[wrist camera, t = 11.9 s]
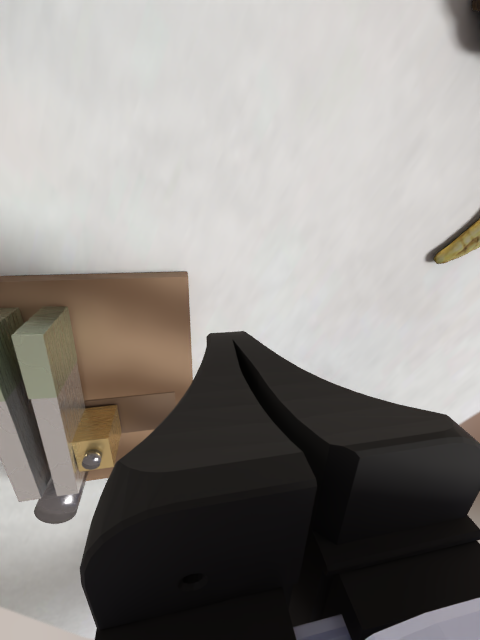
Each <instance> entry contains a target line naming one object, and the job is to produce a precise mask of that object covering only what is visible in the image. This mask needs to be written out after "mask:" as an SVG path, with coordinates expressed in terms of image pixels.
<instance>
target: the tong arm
mask: <svg viewBox="0 0 480 640" xmlns="http://www.w3.org/2000/svg"><path fill="white" fill-rule="evenodd" d="M11 337H12V341H13V345H14V348H15V352H16V355H17V359H18V363H19V366H20V370H21V374H22V377H23V381H24V385H25V388H26V392H27V396H28V399H31V402H32V405H33V409H34V413H35V416H36V420H37V424H38V427H39V431H40V435H41V439H42V442H43V446H44V450H45V453H46V457H47V461H48V464H49V468H50V472H51V476H52V479H53V483H54V487H55V490H56V494H57V496H63V495H71V494H78V493H79V491H80V487H81V484H82V481H83V478H84V475H85V471H81V472H79V468H78V465H77V461H76V458H75V454H74V450H73V447H72V440H73V438H74V435H75V433H76V430H77V428H78V425H79V423H80V420H81V418H82V415H83V413H84V410H85V404H84V398H83V393H82V387H81V382H80V376H79V371H78V365H77V355H76V349H75V344H74V338H73V332H72V327H71V321H70V316H69V310H68V306H67V307H42V308H41V309H40V310H38V311H37V312H36V313H35V314H34V315H33V316H32V317H31V318H30V319H29V320H28V321H27V322H25V323H24V324H23V325H22V326H21V327H20V328H19V329H18V330H17V331H16V332H15V333H14V334H12V335H11Z"/></svg>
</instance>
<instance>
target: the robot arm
mask: <svg viewBox="0 0 480 640" xmlns="http://www.w3.org/2000/svg"><path fill="white" fill-rule="evenodd" d="M479 491H480V443H479V442H478V441H476V440H475V439H474V438H473V437H472V436H471V435H470V434H468V433H467V432H466V431H465V430H464V429H463V428H461V427H460V426H459V425H458V424H457V423H456V422H455V421H453V420H452V419H451V418H450V417H449V416H447V415H445V414H440V413H435V412H431V411H426V410H421V409H417V408H412V407H407V406H403V405H399V404H395V403H391V402H387V401H384V400H380V399H377V398H373V397H370V396H367V395H364V394H361V393H357V392H354V391H352V390H349V389H346V388H344V387H341V386H338V385H336V384H333V383H331V382H328V381H326V380H324V379H322V378H319V377H317V376H315V375H313V374H311V373H309V372H307V371H305V370H303V369H301V368H299V367H297V366H296V365H294V364H292V363H291V362H289V361H287V360H286V359H284V358H282V357H281V356H279V355H278V354H276V353H275V352H273V351H272V350H270V349H269V348H267V347H266V346H264V345H263V344H262V343H260V342H259V341H257V340H256V339H255V338H253V337H252V336H251V335H249V334H248V333H246V332H244V331H241V332H225V333H210V334H209V335H208V336H207V347H206V351H205V354H204V357H203V360H202V363H201V365H200V367H199V370H198V372H197V374H196V376H195V378H194V380H193V381H192V383H191V385H190V387H189V388H188V390H187V391H186V393H185V394H184V396H183V397H182V398H181V400H180V401H179V402H178V404H177V405H176V406H175V408H174V409H173V410H172V411H171V413H170V414H169V415H168V416H167V417H166V418H165V419H164V420H163V421H162V422H161V423H160V424H159V425H158V426H157V427H156V428H155V430H154V431H153V432H152V433H151V434H150V435H149V436H147V437H146V438H145V439H144V440H143V441H142V442H141V443H139V444H138V445H137V446H136V447H134V448H133V449H132V450H131V451H130V452H128V453H127V454H126V455H125V456H123V457H122V458H121V459H119V460H118V461H117V462H116V464H115V466H114V468H113V470H112V472H111V474H110V476H109V478H108V481H107V483H106V485H105V487H104V490H103V492H102V495H101V497H100V500H99V502H98V505H97V508H96V510H95V513H94V516H93V519H92V522H91V526H90V529H89V533H88V537H87V542H86V546H85V550H84V554H83V558H82V562H81V566H80V575H81V584H82V587H83V590H84V593H85V596H86V599H87V601H88V604H89V607H90V610H91V613H92V616H93V619H94V621H95V624H96V627H97V630H96V636H95V640H480V544H479V543H478V541H477V540H480V529H479V528H478V527H477V526H476V525H475V523H474V522H473V521H472V520H471V519H470V518H469V517H468V515H467V514H468V512H469V510H470V508H471V506H472V504H473V502H474V500H475V498H476V497H477V495H478V493H479Z"/></svg>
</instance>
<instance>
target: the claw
mask: <svg viewBox="0 0 480 640" xmlns="http://www.w3.org/2000/svg"><path fill="white" fill-rule="evenodd" d="M472 8H473V11H475V10H477V11H479V12H480V0H473V1H472ZM479 247H480V219H479V220H478V221H477V222H475V223H474V224H473V225H472V226H471V227H470V228H469V229H467V230H466V231H465V232H464V233H463V234H461V235H460V236H459V237H458V238H456V239H455V240H454V241H453V242H452V243H451V244H450V245H448V246H447V247H445V248H444V249H443V250H441V251H440V252H439V253H437V254H436V256H435V257H434V261H435V262H436V263H437V264H441V263H446V262H448V261H451V260H453V259H456V258H459V257H461V256H463V255H465V254H467V253H469V252H470V251H472V250H475V249H477V248H479Z"/></svg>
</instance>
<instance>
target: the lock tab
mask: <svg viewBox="0 0 480 640" xmlns="http://www.w3.org/2000/svg"><path fill="white" fill-rule="evenodd" d="M121 432H122V431H121V425H120V420H119V414H118V409H117V405H111V406H101V407H92V408H85V410H84V413H83V415H82V418H81V420H80V423H79V425H78V428H77V430H76V433H75V435H74V438H73V440H72V447H73V450H74V454H75V458H76V461H77V465H78V468H79V472H81V471H88V470H95V469H102V468H110V467H114V464H115V460H116V455H117V450H118V446H119V441H120V436H121Z"/></svg>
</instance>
